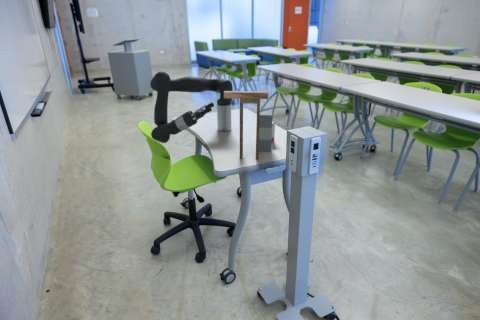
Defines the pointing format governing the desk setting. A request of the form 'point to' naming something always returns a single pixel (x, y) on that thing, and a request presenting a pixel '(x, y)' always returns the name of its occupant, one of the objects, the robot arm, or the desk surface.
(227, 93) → the terracotta bar
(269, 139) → the block tower
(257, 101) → the walnut stand
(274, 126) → the ink box
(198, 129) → the desk surface
